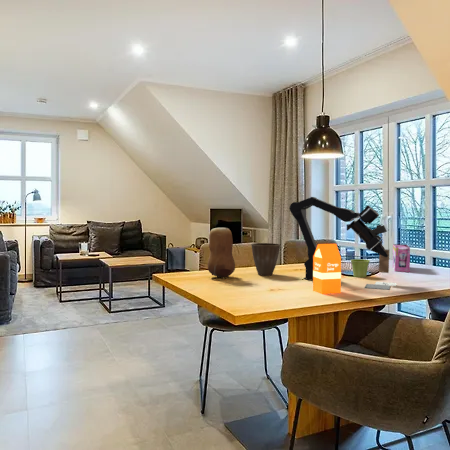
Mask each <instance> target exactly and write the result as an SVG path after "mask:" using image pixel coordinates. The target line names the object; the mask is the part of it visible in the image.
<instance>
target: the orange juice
mask: <svg viewBox="0 0 450 450" xmlns="http://www.w3.org/2000/svg"><path fill="white" fill-rule="evenodd" d="M341 282H342V257H341V254H340V251H339V248H338V245H337V243H318V244H317V248H316V251H315V254H314V256H313V281H312V291H313V292H315V293H318V294H321V295H329V294H330V293H331V294H341V292H342V290H341V289H342V286H341V285H342V283H341Z"/></svg>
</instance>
